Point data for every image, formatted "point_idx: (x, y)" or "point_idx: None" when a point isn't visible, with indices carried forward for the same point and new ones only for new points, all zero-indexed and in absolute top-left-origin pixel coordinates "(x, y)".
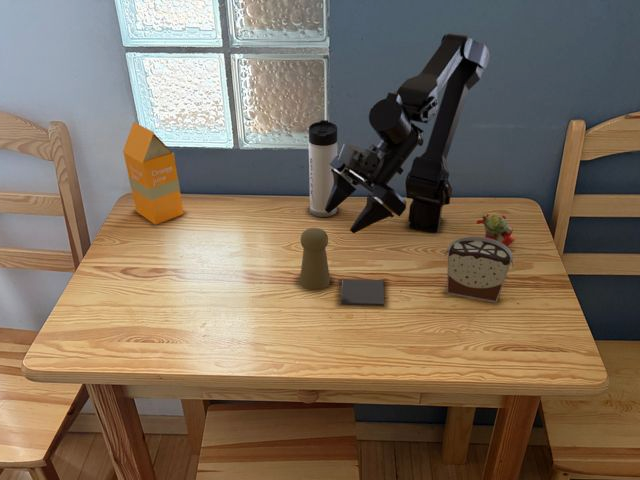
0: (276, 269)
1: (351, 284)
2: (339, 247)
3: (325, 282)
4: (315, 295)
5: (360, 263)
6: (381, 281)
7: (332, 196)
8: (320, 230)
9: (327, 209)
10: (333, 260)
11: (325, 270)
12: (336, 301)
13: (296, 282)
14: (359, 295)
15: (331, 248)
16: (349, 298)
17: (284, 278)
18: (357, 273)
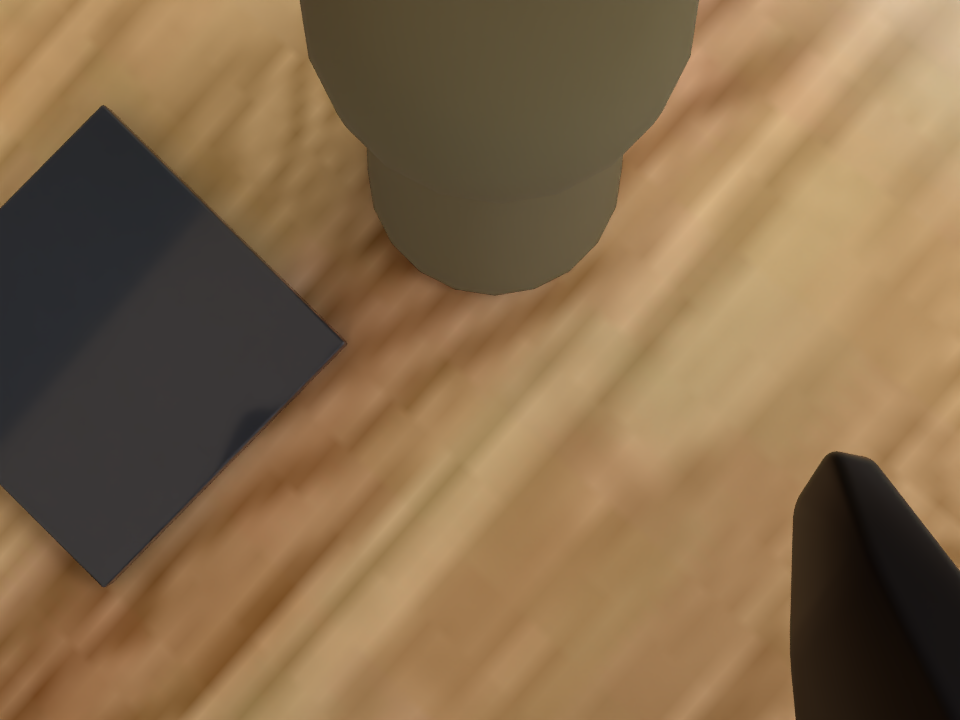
0: (851, 43)
1: (234, 342)
2: (776, 696)
3: (369, 170)
4: None
5: (452, 649)
6: (101, 564)
7: (953, 706)
8: (469, 50)
9: (827, 487)
10: (643, 505)
11: (370, 157)
12: (168, 115)
13: None
14: (74, 281)
15: None
16: (98, 193)
17: None
18: (353, 519)
